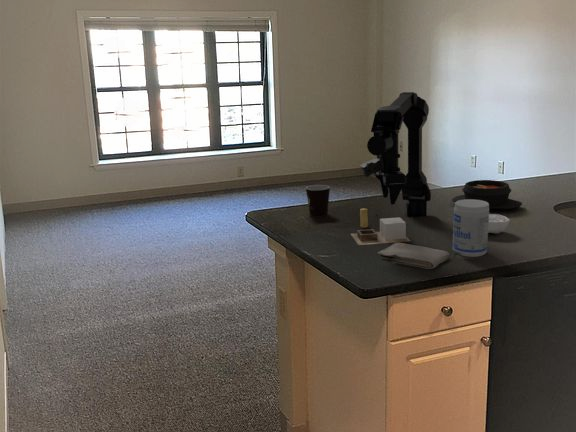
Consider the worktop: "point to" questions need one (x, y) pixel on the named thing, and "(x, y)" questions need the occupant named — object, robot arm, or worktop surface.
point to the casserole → (489, 194)
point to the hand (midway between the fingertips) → (388, 200)
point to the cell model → (497, 223)
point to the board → (372, 237)
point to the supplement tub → (470, 227)
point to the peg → (363, 218)
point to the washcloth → (415, 255)
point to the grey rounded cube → (392, 228)
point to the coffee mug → (318, 199)
